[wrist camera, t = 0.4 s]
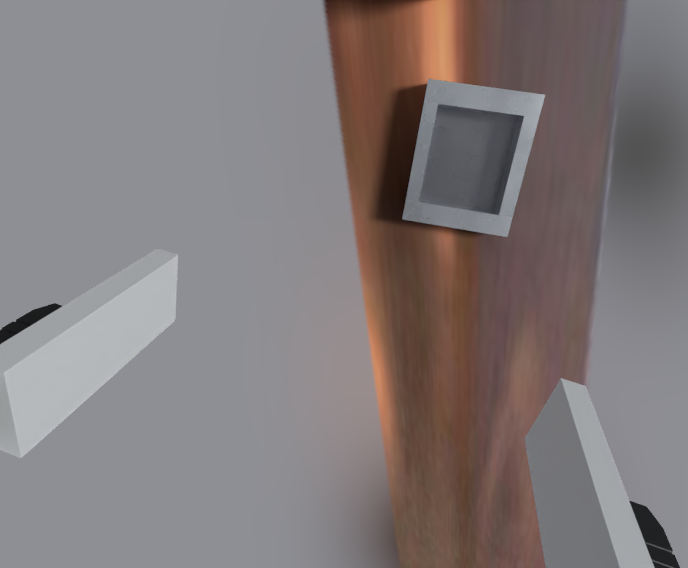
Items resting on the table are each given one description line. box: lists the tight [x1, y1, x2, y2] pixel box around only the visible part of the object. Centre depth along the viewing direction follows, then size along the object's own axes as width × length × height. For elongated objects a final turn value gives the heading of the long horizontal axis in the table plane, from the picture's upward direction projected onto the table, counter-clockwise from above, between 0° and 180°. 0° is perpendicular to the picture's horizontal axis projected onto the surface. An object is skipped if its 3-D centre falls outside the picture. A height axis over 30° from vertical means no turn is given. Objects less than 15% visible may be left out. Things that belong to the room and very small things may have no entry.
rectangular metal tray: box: [402, 79, 545, 237], centre depth 34 cm, size 10×8×2 cm
